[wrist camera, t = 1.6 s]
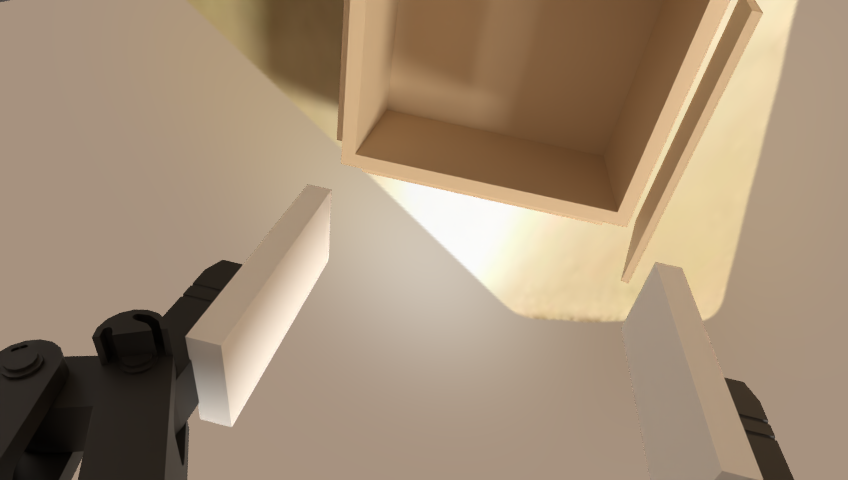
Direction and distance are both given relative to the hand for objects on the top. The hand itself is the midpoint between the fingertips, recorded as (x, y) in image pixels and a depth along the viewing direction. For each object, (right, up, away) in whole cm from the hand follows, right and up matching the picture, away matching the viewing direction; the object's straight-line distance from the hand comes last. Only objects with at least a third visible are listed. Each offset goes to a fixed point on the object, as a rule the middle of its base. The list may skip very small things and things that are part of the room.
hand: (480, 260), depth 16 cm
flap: (+12, +6, +11) cm, 17 cm away
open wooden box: (+5, +16, +24) cm, 30 cm away
